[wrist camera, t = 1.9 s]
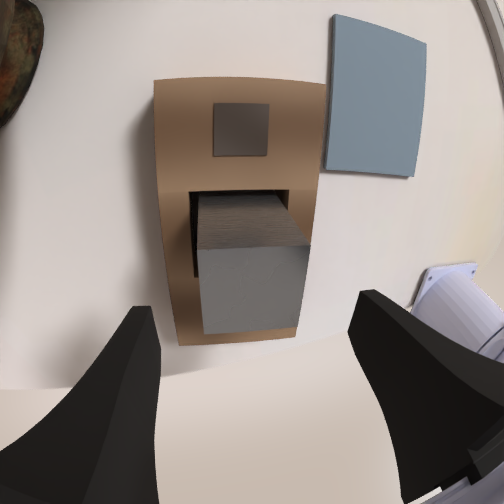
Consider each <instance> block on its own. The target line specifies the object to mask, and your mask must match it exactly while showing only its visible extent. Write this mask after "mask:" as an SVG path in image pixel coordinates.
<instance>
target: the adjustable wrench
mask: <svg viewBox="0 0 504 504" xmlns="http://www.w3.org/2000/svg"><path fill="white" fill-rule="evenodd" d="M477 2H478V5H479V7H480V10H481V12H482V15H483V17H484V20H485V23H486V25H487V28H488V31H489V34H490V37H491V40H492V43H493V46H494V50H495V53H496V57H497V60H498V64H499V68H500V72H501V76H502V81H503V85H504V19H503V16H502V13H501V11H500V8H499V6H498V3H497V1H496V0H477Z"/></svg>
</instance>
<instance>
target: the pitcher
mask: <svg viewBox="0 0 504 504" xmlns="http://www.w3.org/2000/svg"><path fill="white" fill-rule="evenodd" d="M43 36H44V25H43V19H42V15H41V13H40V11H39V10H38V8H37V6H36V5H34V4H33V3H31V2H30V1H28V0H0V128H1V127H2V126H3V125H4V124H6V122H7V121H8V119H9V118H10V117H11V115H12V114H13V113H14V111H15V110H16V109H17V107H18V106H19V104H20V102H21V100H22V98H23V97H24V95H25V93H26V91H27V89H28V87H29V86H30V83H31V80H32V77H33V75H34V72H35V70H36V67H37V64H38V61H39V57H40V53H41V50H42V46H43Z"/></svg>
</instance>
